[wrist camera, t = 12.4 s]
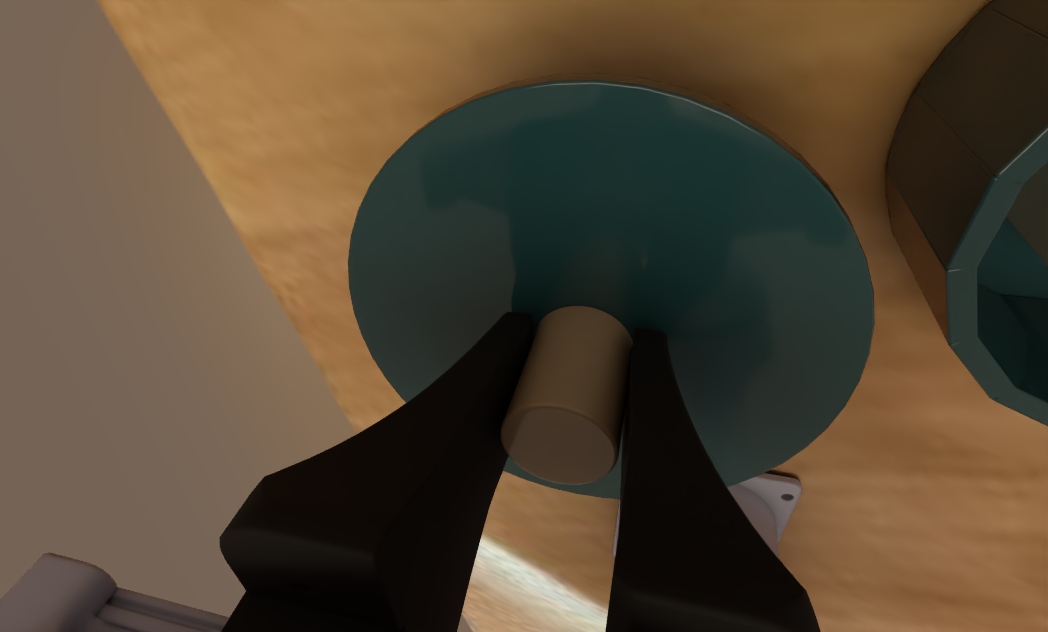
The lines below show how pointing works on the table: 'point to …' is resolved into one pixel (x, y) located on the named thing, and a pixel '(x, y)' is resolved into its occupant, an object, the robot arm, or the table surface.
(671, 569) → the robot arm
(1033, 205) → the block
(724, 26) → the table surface
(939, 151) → the canister
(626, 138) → the lid
